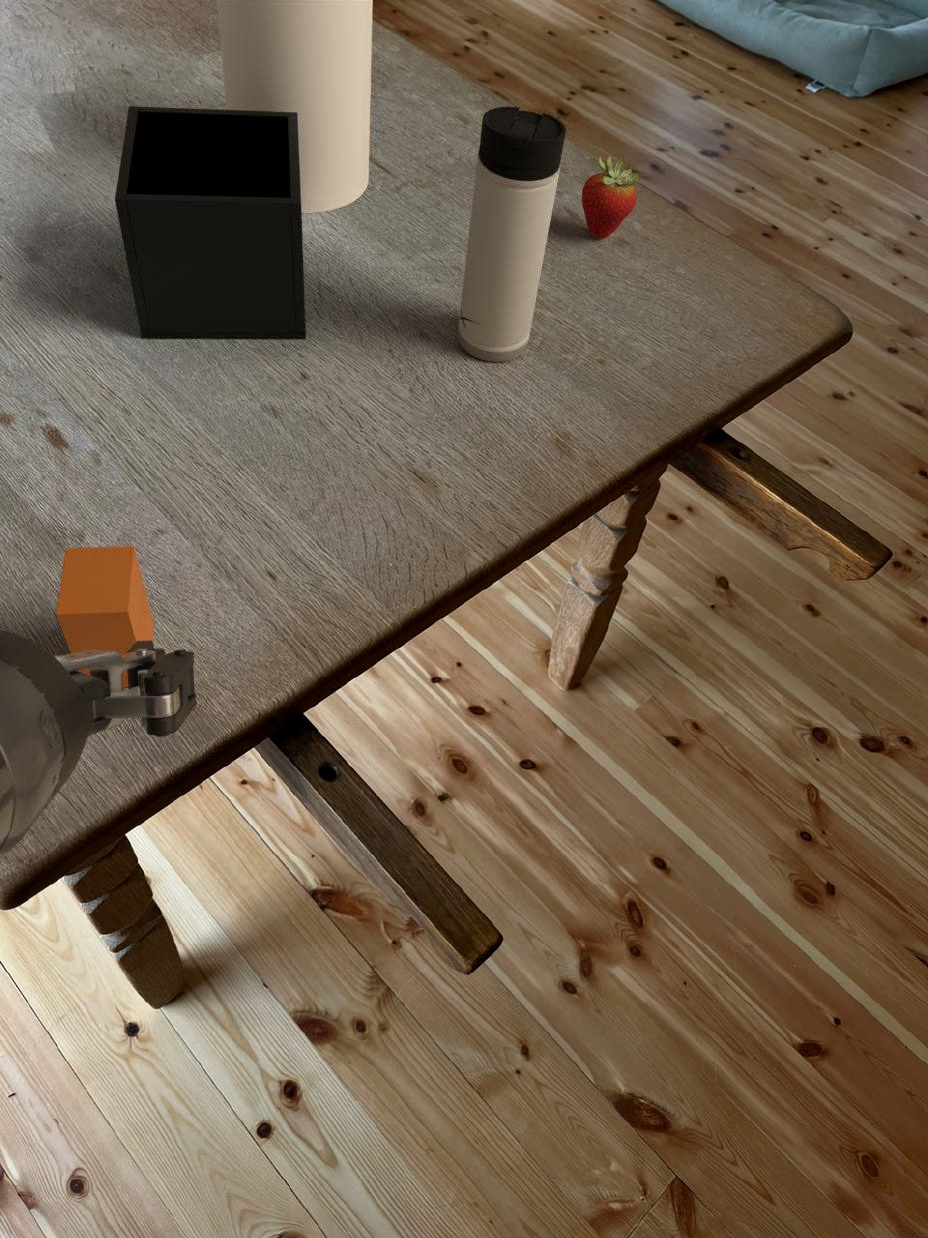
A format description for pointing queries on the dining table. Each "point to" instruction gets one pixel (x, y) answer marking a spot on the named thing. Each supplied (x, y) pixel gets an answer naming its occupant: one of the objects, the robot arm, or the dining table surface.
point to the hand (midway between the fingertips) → (59, 664)
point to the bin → (213, 223)
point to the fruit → (608, 198)
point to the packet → (103, 601)
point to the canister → (307, 84)
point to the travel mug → (508, 230)
